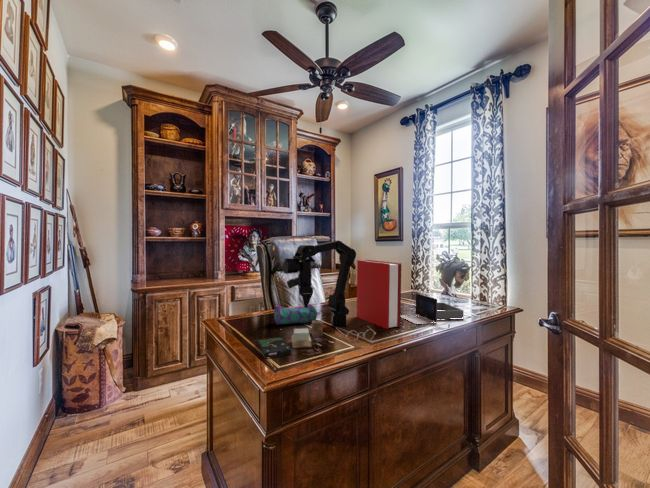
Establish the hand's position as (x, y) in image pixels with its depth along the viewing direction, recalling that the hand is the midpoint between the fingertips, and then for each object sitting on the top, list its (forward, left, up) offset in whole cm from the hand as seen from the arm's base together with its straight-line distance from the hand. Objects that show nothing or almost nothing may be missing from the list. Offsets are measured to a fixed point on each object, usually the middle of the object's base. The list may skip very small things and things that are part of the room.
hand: (305, 305), depth 139 cm
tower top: (+3, +16, -10) cm, 19 cm away
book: (-39, -13, -13) cm, 43 cm away
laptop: (-62, -14, -13) cm, 65 cm away
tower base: (+3, +16, -13) cm, 21 cm away
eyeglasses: (-22, +6, -13) cm, 26 cm away
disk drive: (+14, +21, -13) cm, 28 cm away
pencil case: (+4, -15, -13) cm, 20 cm away
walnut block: (-5, +5, -13) cm, 14 cm away
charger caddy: (-80, -22, -13) cm, 84 cm away
